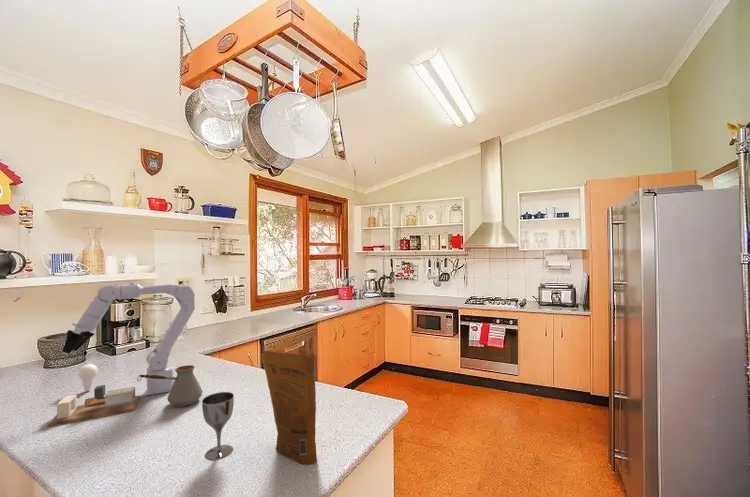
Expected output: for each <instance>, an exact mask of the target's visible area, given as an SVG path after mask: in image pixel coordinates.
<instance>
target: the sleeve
mask: <svg viewBox="0 0 750 497" xmlns="http://www.w3.org/2000/svg"><path fill="white" fill-rule="evenodd" d="M135 396H136V386H129V387H124V388H119V389H113V390H111V389H110V390H108V391H107V393H105V409H110V408H115V407H121V406H126V405H132V404H133V403H134V401H135Z"/></svg>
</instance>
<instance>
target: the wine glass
mask: <svg viewBox="0 0 750 497" xmlns="http://www.w3.org/2000/svg"><path fill="white" fill-rule="evenodd" d="M234 399H235V396H234V393H233V392H230V391H218V392H215V393H211V394H209V395H207V396H205V397H204V398H202V400H201V403H202V404H201V407H202V408H201V409H202V415H203V420H204V421H205V423H206V424H207V425H208V426H209V427H211V428H212V429H213V430H214V431H215V436H216V442H217V445H215V446H214V447H212V448H210V449H208V450H207V451H206V452H205V454H204V458H205V460H208V461H218V460H221V459H222V460H223V459H224V458H226V457H228V456H229V455H231V453H233V451H234V448H233V446H232V445H230V444H221V441H222V440H221V437H222V431H223V428H225V426H226V424H227V423H228V422H229V421H230V419H231V417H232V414H233V411H234V405H235V404H234V403H235V400H234Z"/></svg>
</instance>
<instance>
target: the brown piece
mask: <svg viewBox="0 0 750 497" xmlns="http://www.w3.org/2000/svg"><path fill="white" fill-rule="evenodd" d="M93 391H94V392H93V395H94V396H93V397H89V398H85V400H84V404H83V405H84V407H85V408H87V407H93V406H99V405H104V404H105V395H106V384H102V385H97V386H96V387H95V388H94V390H93Z"/></svg>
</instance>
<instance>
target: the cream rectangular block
mask: <svg viewBox="0 0 750 497" xmlns="http://www.w3.org/2000/svg"><path fill="white" fill-rule="evenodd" d="M77 398H78V396H77V394H72V395H66V396H64V397H62V399H61V400H60V401H59V402H57V403H56V415H57V419H61V418H66V417H70V415H71V414H72V413H73V412H74V411H75V410H76V409H77V406H78V404H77V400H78V399H77Z"/></svg>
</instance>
